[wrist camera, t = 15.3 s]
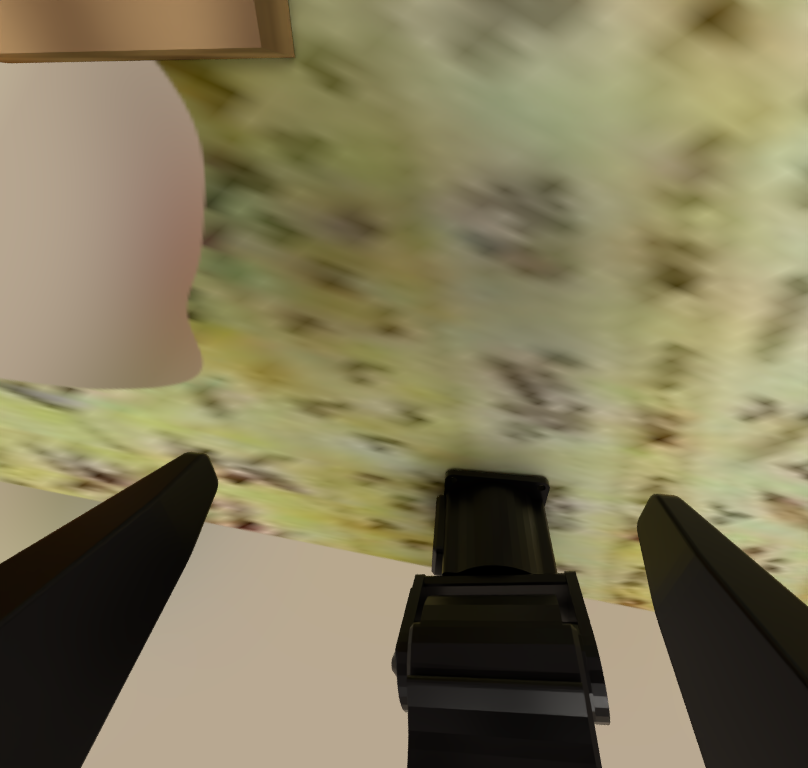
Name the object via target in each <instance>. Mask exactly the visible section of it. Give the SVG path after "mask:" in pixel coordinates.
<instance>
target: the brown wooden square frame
mask: <svg viewBox="0 0 808 768" xmlns="http://www.w3.org/2000/svg"><path fill="white" fill-rule="evenodd" d="M288 57H295V54H294V46H293V38H292V30H291V22H290V14H289V6H288V0H0V62H3V63H42V62H86V61H87V62H91V61H140V60H190V59H239V58H288Z"/></svg>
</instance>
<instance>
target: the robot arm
mask: <svg viewBox="0 0 808 768" xmlns="http://www.w3.org/2000/svg"><path fill="white" fill-rule="evenodd" d="M451 477H454V478H451ZM540 485H543V486H540ZM217 488H218V479H217V476H216V473H215V471H214V468H213V465H212V463H211V460H210V458H209V456H208V455H207V454H205V453H196V452H187V453H184V454H182V455H181V456H179V457H177V458H176V459H174V460H172V461H171V462H169V463H167V464H166V465H164V466H162V467H161V468H159V469H157V470H156V471H154V472H152V473H151V474H149V475H147V476H146V477H144V478H142V479H141V480H139V481H137V482H136V483H134V484H132V485H131V486H129V487H127V488H126V489H124V490H122V491H121V492H119V493H117V494H116V495H114V496H112V497H111V498H109V499H107V500H106V501H104V502H102V503H101V504H99V505H97V506H96V507H94V508H92V509H91V510H89V511H88V512H86V513H84V514H82V515H81V516H79V517H78V518H76V519H74V520H72V521H71V522H69V523H67V524H66V525H64V526H62V527H61V528H59V529H57V530H56V531H54V532H52V533H51V534H49V535H47V536H46V537H44V538H43V539H41V540H39V541H38V542H36V543H34V544H32V545H31V546H29V547H27V548H26V549H24V550H22V551H21V552H19V553H17V554H16V555H14V556H13V557H11V558H9V559H7V560H6V561H4V562H2V563H1V564H0V768H81V767H82V764H83V763H84V761H85V759H86V757H87V755H88V753H89V751H90V749H91V747H92V745H93V744H94V742H95V740H96V737H97V736H98V734H99V732H100V730H101V728H102V726H103V724H104V722H105V720H106V719H107V717H108V714H109V712H110V711H111V709H112V707H113V705H114V703H115V701H116V699H117V697H118V695H119V693H120V692H121V689H122V688H123V686H124V684H125V682H126V680H127V678H128V676H129V674H130V672H131V670H132V668H133V666H134V665H135V662H136V661H137V659H138V657H139V655H140V653H141V651H142V649H143V647H144V645H145V643H146V641H147V639H148V637H149V636H150V634H151V632H152V630H153V628H154V626H155V624H156V622H157V620H158V618H159V616H160V614H161V613H162V611H163V609H164V606H165V605H166V603H167V601H168V599H169V597H170V595H171V593H172V591H173V589H174V587H175V586H176V584H177V582H178V580H179V578H180V576H181V574H182V572H183V570H184V568H185V566H186V564H187V562H188V560H189V558H190V556H191V554H192V551H193V549H194V547H195V544H196V542H197V539H198V537H199V534H200V532H201V529H202V527H203V524H204V522H205V519H206V517H207V514H208V512H209V509H210V507H211V504H212V502H213V499H214V497H215V494H216V492H217ZM549 489H550V486H549V482H548V480H547V479H545V478H538V477H527V476H516V475H505V474H494V473H482V472H471V471H460V470H450V471H448V472H447V473H446V476H445V489H444V495H439V496H438V497H437V501H436V515H435V528H434V541H433V556H432V572H433V574H434V575H437V576H426V575H425V574H422V575H415V579H414V583H413V587H412V588H411V589H410V593H409V597H408V601H407V605H406V609H405V613H404V617H403V621H402V624H401V628H400V632H399V637H398V640H397V644H396V649H395V653H394V656H393V658H392V671H393V672H394V673H395V675H396V676H397V685H398V693H399V699H400V703H401V706H402V709H403V710H404V711H405V712H408V734H409V735H408V763H407V764H408V765H407V768H602V766H601V760H600V754H599V748H598V743H597V736H596V731H595V725H594V724H600V725H609V724H610V713H609V705H608V698H607V692H606V687H605V681H604V676H603V671H602V666H601V661H600V657H599V653H598V649H597V645H596V641H595V638H594V634H593V630H592V627H591V624H590V620H589V617H588V613H587V610H586V607H585V604H584V600H583V596H582V593H581V589H580V586H579V583H578V579H577V576H576V572H575V571H564V573H557V569H556V564H555V559H554V554H553V549H552V543H551V538H550V533H549V528H548V523H547V518H546V513H545V508H544V506H545V503H546V500H547V496H548V493H549ZM637 532H638V537H639V542H640V546H641V551H642V556H643V560H644V565H645V570H646V574H647V579H648V584H649V588H650V593H651V598H652V602H653V606H654V610H655V614H656V617H657V620H658V624H659V627H660V630H661V633H662V636H663V639H664V642H665V645H666V648H667V651H668V654H669V657H670V660H671V663H672V666H673V669H674V672H675V675H676V678H677V682H678V685H679V688H680V691H681V693H682V697H683V699H684V703H685V705H686V709H687V712H688V715H689V718H690V721H691V724H692V727H693V730H694V733H695V736H696V739H697V742H698V745H699V748H700V751H701V754H702V757H703V760H704V763H705V767H706V768H808V606H807V605H806V604H804V603H803V602H802V601H801V600H800V599H799V598H797V597H796V596H795V595H794V594H793V593H792V592H790V591H789V590H788V589H787V588H786V587H784V586H783V585H782V584H781V583H780V582H779V581H777V580H776V579H775V578H774V577H773V576H772V575H770V574H769V573H768V572H767V571H766V570H764V569H763V568H762V567H761V566H760V565H759V564H757V563H756V562H755V561H754V560H753V559H752V558H750V557H749V556H748V555H747V554H746V553H744V552H743V551H742V550H741V549H740V548H739V547H737V546H736V545H735V544H734V543H733V542H731V541H730V540H729V539H728V538H727V537H726V536H724V535H723V534H722V533H721V532H720V531H719V530H717V529H716V528H715V527H714V526H713V525H711V524H710V523H709V522H708V521H707V520H706V519H704V518H703V517H702V516H701V515H700V514H699V513H697V512H696V511H695V510H694V509H693V508H691V507H690V506H689V505H688V504H687V503H686V502H684V501H683V500H682V499H681V498H679V497H677V496H674V495H665V494H653V495H652V496H650V498H649V500H648V502H647V504H646V506H645V508H644V509H643V511H642V513H641V515H640V517H639V519H638V523H637Z"/></svg>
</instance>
